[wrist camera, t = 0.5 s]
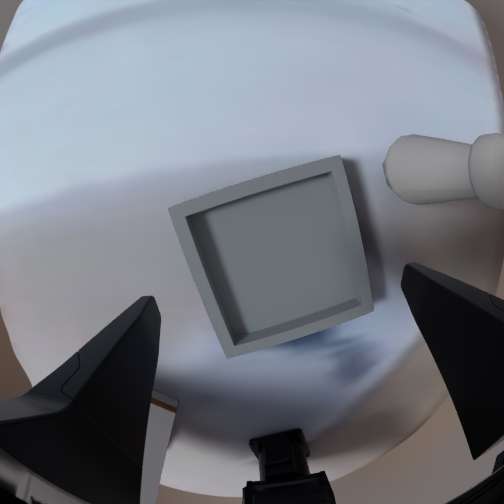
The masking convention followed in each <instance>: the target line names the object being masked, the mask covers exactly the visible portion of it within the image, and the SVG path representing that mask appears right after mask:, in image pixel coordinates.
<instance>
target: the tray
mask: <svg viewBox="0 0 504 504" xmlns="http://www.w3.org/2000/svg"><path fill="white" fill-rule="evenodd" d="M168 210H169V213H170V216H171V219H172V222H173V225H174V228H175V230H176V233H177V236H178V239H179V241H180V244H181V247H182V250H183V252H184V255H185V258H186V260H187V263H188V266H189V268H190V271H191V273H192V276H193V279H194V281H195V284H196V286H197V289H198V291H199V294H200V296H201V299H202V301H203V304H204V306H205V309H206V311H207V313H208V316H209V318H210V321H211V323H212V325H213V328H214V330H215V332H216V335H217V337H218V339H219V342H220V344H221V346H222V348H223V351H224V353H225V355H226V357H227V358H231V357H235V356H239V355H243V354H246V353H250V352H254V351H257V350H261V349H264V348H268V347H271V346H275V345H278V344H281V343H284V342H288V341H291V340H294V339H297V338H300V337H303V336H306V335H310V334H313V333H315V332H318V331H321V330H324V329H327V328H330V327H333V326H336V325H338V324H341V323H344V322H347V321H349V320H352V319H355V318H357V317H360V316H362V315H365V314H368V313H370V312H373V311H374V307H373V300H372V294H371V287H370V281H369V275H368V269H367V264H366V259H365V253H364V248H363V243H362V239H361V234H360V229H359V225H358V220H357V216H356V212H355V208H354V204H353V199H352V196H351V192H350V188H349V184H348V180H347V177H346V173H345V170H344V166H343V163H342V159H341V156H340V155H337V156H333V157H329V158H325V159H322V160H318V161H314V162H310V163H307V164H303V165H299V166H296V167H292V168H289V169H285V170H282V171H278V172H275V173H271V174H268V175H265V176H261V177H258V178H255V179H252V180H248V181H245V182H242V183H239V184H236V185H233V186H230V187H227V188H224V189H221V190H218V191H215V192H212V193H209V194H206V195H203V196H200V197H197V198H194V199H191V200H189V201H186V202H183V203H180V204H178V205H175V206H172V207H169V208H168Z"/></svg>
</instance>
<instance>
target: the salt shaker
mask: <svg viewBox="0 0 504 504" xmlns="http://www.w3.org/2000/svg"><path fill="white" fill-rule="evenodd" d="M382 165H383V169H384V173H385V177H386V181H387V185H388V186H389V187H390V188H391V189H392V191H393V192H394V193H396V194H397V195H398V196H399V197H400V198H401V199H402V200H403V201H406V202H409V203H413V204H417V205H420V204H428V203H436V202H444V201H452V200H461V199H470V198H479V200H480V201H481V202H482V203H483V204H485V205H488V206H490V207H492V208H495V209H499V210H504V134H498V133H494V134H486V135H482V136H479V137H478V138H477V139H476V141H475V142H474V143H473V145H470V144H466V143H461V142H456V141H451V140H445V139H440V138H434V137H427V136H421V135H414V134H413V135H407V136H401V137H400V138H398V139H397V140H396V141H395V142H394V143H393V144H392V145H391V146H390V148H389V151H388V154H387V157H386V159H385V161H384V162H383V164H382Z"/></svg>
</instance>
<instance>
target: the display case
mask: <svg viewBox="0 0 504 504" xmlns="http://www.w3.org/2000/svg"><path fill="white" fill-rule="evenodd" d="M178 402H179V401H178V400H176V399H173V398H171V397H169V396H166V395H164V394H161V393H159V392H157V391H155V390H153V391H152V398H151V404H150V411H149V418H148V425H147V433H146V441H145V450H144V459H143V467H142V468H143V470H142V482H141V495H140V504H155V502H156V497H157V492H158V487H159V483H160V478H161V474H162V469H163V465H164V460H165V456H166V451H167V447H168V443H169V439H170V434H171V430H172V426H173V422H174V418H175V414H176V410H177V406H178Z"/></svg>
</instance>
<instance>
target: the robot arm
mask: <svg viewBox="0 0 504 504" xmlns="http://www.w3.org/2000/svg"><path fill="white" fill-rule="evenodd" d="M401 288H402V291H403V293H404V296H405V298H406V300H407V303H408V305H409V307H410V310H411V312H412V315H413V317H414V319H415V322H416V324H417V326H418V328H419V329H420V331H421V333H422V335H423V337H424V339H425V341H426V343H427V345H428V347H429V349H430V351H431V354H432V356H433V358H434V360H435V362H436V364H437V366H438V368H439V371H440V373H441V375H442V377H443V380H444V382H445V384H446V387H447V389H448V391H449V394H450V396H451V398H452V401H453V403H454V406H455V409H456V411H457V414H458V417H459V419H460V422H461V425H462V427H463V430H464V433H465V436H466V439H467V442H468V445H469V448H470V451H471V455H472V457H473V459H474V460H475V459H477V458H479V457H480V456H482V455H483V454H485V453H486V452H488V451H489V450H491V449H492V448H493V447H495V446H496V445H498V444H499V443H500V442H502V441H503V440H504V300H502V299H500V298H498V297H496V296H494V295H491V294H488V293H487V292H484V291H482V290H480V289H478V288H475V287H473V286H471V285H468V284H466V283H464V282H461V281H459V280H457V279H454V278H452V277H450V276H447V275H445V274H442V273H440V272H437V271H435V270H433V269H430V268H428V267H425V266H423V265H420V264H418V263H409V264H406V265H405V267H404V271H403V276H402V280H401ZM160 327H161V315H160V312H159V309H158V306H157V303H156V301H155V298H154V297H153V296H142V297H141V298H139V299H138V300H137V301H136V302H135V303H133V304H132V305H131V306H130V307H129V308H127V309H126V310H125V311H124V312H123V313H121V314H120V315H119V316H118V317H117V318H116V319H114V320H113V321H112V322H111V323H110V324H108V325H107V326H106V327H105V328H104V329H103V330H101V331H100V332H99V333H98V334H97V335H96V336H94V337H93V338H92V339H91V340H90V341H89V342H88V343H86V344H85V345H84V346H83V347H82V348H81V349H80V350H79V351H78V352H76V353H75V354H74V355H73V356H72V357H70V358H69V359H68V360H67V361H66V362H65V363H63V364H62V365H61V366H60V367H59V368H57V369H56V370H55V371H53V372H52V373H51V374H50V375H48V376H47V377H46V378H44V379H43V380H42V381H41V382H39V383H38V384H37V385H35V386H34V387H33V388H31V389H30V390H29V391H28V392H26V393H25V394H23V395H21V396H19V397H16V398H10V399H0V504H140V495H141V482H142V470H143V468H142V467H143V459H144V450H145V441H146V433H147V425H148V418H149V411H150V404H151V398H152V391H153V385H154V379H155V374H156V368H157V362H158V355H159V341H160ZM249 446H250V447H251V449H252V451H253V452H254V454H255V455H256V457H257V459H258V460H259V471H260V481H247V486H246V487H244V488H243V501H242V504H336V502H335V497H334V493H333V491H332V488H331V486H330V483H329V481H328V478H327V476H326V473H325V471H320V472H319V473H314V474H310V471H309V467H308V462H307V458H306V457H309V456H310V451H309V448H308V446H307V443H306V440H305V437H304V435H303V432H302V430H301V429H295V430H291V431H287V432H283V433H280V434H275V435H271V436H267V437H262V438H258V439H253V440H250V441H249ZM446 504H504V451H502V452H501V453H500V454H499V455H498V456H497V458H496V462H495V465H494V468H493V472H492V474H491V475H490V476H488V477H487V478H486V479H484V480H483V481H481V482H480V483H478V484H477V485H475V486H474V487H472V488H471V489H469V490H467V491H466V492H464V493H463V494H461V495H459V496H458V497H456V498H454V499H452V500H451V501H449V502H447V503H446Z"/></svg>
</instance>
